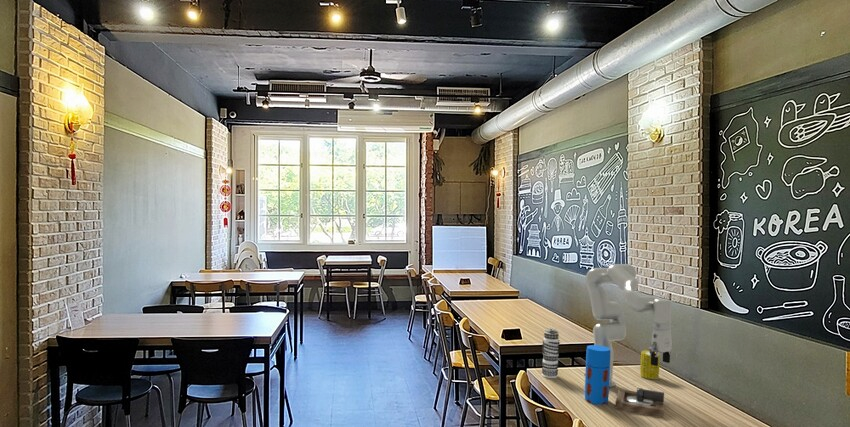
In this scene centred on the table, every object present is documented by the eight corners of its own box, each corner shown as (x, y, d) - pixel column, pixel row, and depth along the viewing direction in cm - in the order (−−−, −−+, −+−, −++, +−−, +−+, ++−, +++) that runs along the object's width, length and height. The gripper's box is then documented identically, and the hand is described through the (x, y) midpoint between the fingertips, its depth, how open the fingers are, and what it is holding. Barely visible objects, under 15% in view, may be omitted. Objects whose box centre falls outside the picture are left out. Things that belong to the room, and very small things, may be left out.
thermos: (596, 406, 248) (598, 352, 248) (579, 398, 258) (581, 346, 257) (613, 403, 253) (615, 349, 253) (596, 395, 263) (598, 344, 262)
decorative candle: (561, 375, 292) (563, 329, 291) (553, 379, 285) (555, 332, 284) (546, 371, 298) (548, 326, 297) (537, 375, 291) (539, 329, 290)
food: (657, 378, 297) (656, 385, 288) (635, 370, 302) (633, 376, 293) (665, 353, 295) (664, 358, 286) (643, 345, 300) (641, 350, 291)
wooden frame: (615, 409, 245) (615, 401, 245) (618, 395, 264) (618, 388, 264) (663, 417, 237) (663, 410, 237) (663, 402, 256) (663, 395, 256)
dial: (625, 404, 248) (626, 390, 247) (627, 396, 258) (627, 383, 258) (663, 411, 241) (664, 396, 241) (663, 402, 252) (664, 389, 252)
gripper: (658, 329, 237) (657, 368, 238) (679, 325, 248) (678, 363, 248) (643, 326, 244) (641, 364, 244) (664, 322, 254) (662, 359, 254)
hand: (660, 363), depth 246 cm, fingers open, 9 cm apart
